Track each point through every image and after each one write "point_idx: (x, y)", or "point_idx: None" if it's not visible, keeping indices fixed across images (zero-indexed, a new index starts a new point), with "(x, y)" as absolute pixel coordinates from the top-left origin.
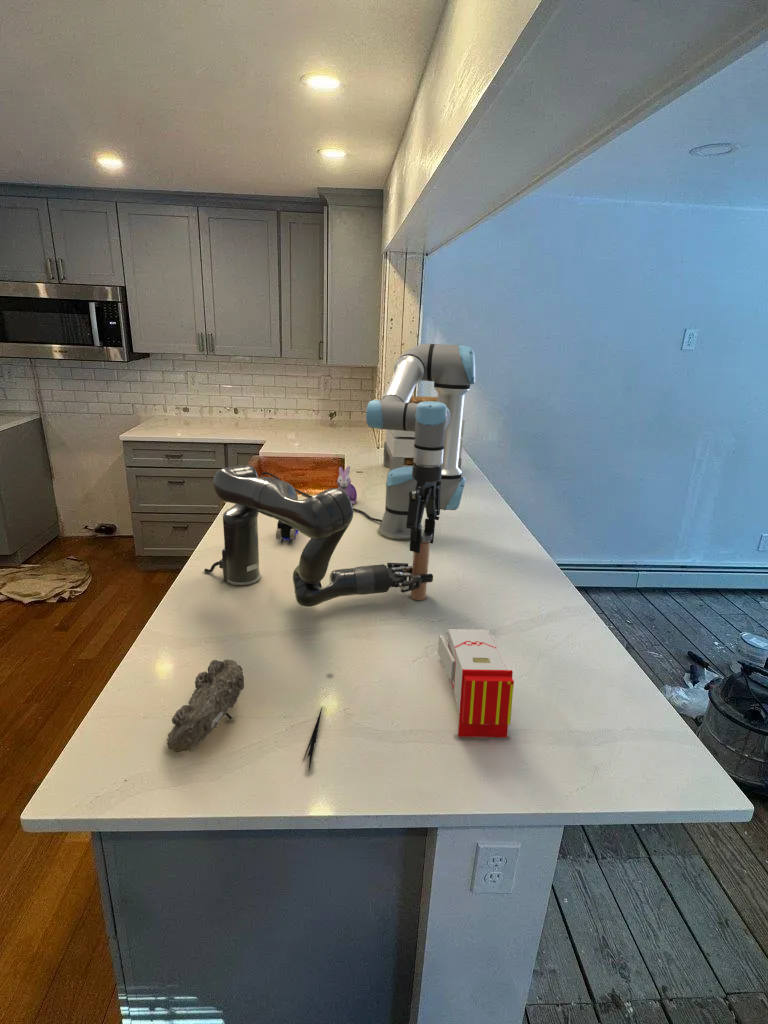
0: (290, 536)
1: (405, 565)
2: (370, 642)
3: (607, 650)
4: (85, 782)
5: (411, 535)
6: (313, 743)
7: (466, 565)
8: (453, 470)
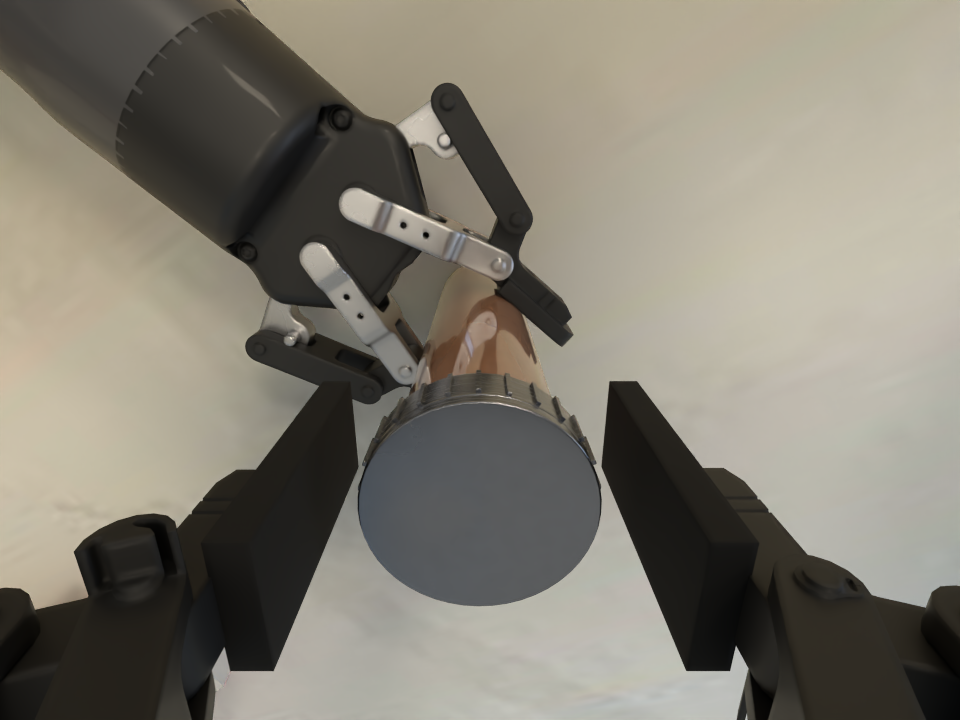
0: None
1: (500, 221)
2: (11, 328)
3: None
4: None
5: (194, 522)
6: None
7: (947, 344)
8: None
